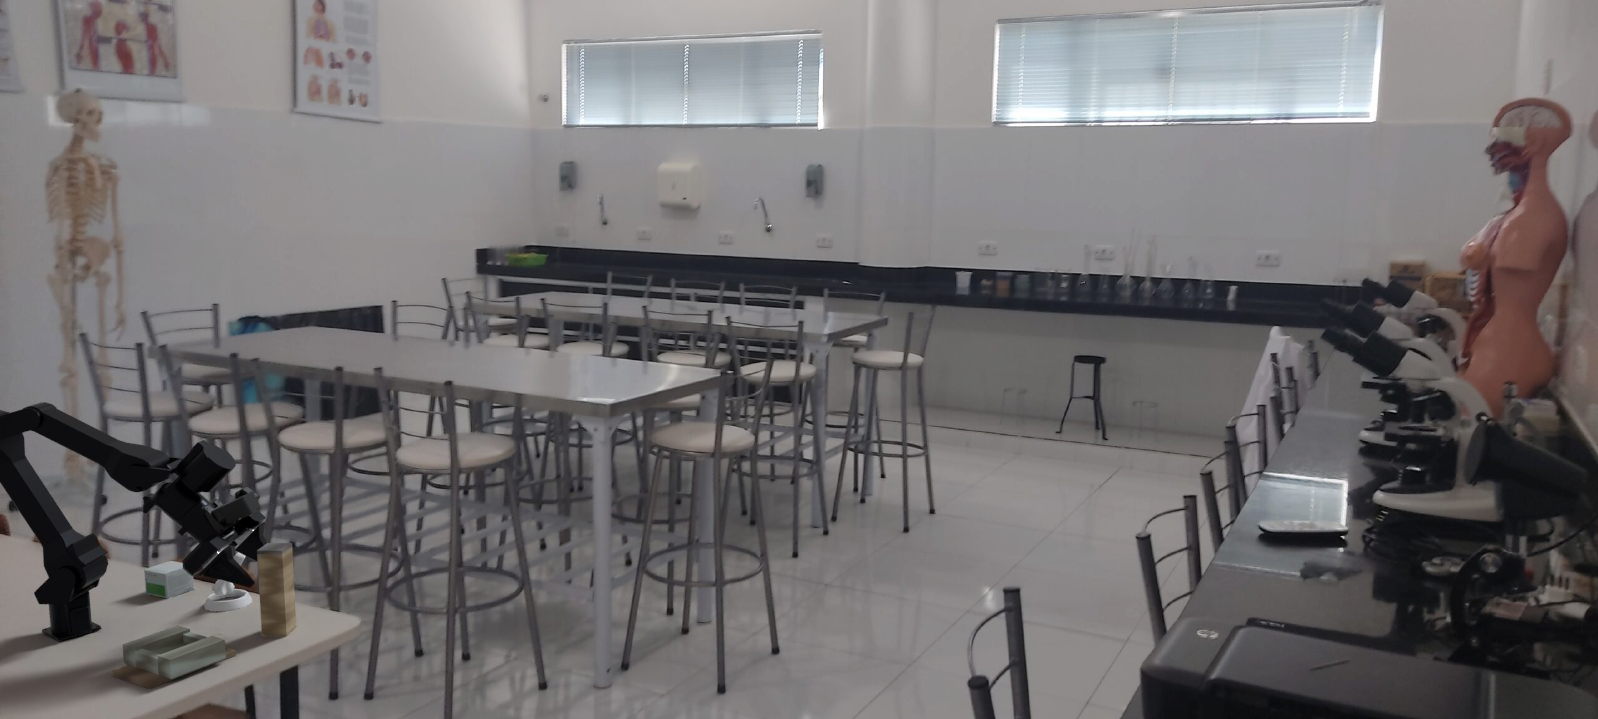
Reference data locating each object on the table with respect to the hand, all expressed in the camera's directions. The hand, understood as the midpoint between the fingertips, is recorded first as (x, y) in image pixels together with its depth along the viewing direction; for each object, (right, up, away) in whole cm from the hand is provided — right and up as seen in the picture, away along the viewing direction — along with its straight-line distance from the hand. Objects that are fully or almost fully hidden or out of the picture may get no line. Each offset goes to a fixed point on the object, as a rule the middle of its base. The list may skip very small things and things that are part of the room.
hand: (264, 575), depth 186 cm
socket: (-8, -11, -12) cm, 19 cm away
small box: (-26, -7, +19) cm, 33 cm away
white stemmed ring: (-13, -8, +14) cm, 20 cm away
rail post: (+2, -9, +1) cm, 10 cm away
